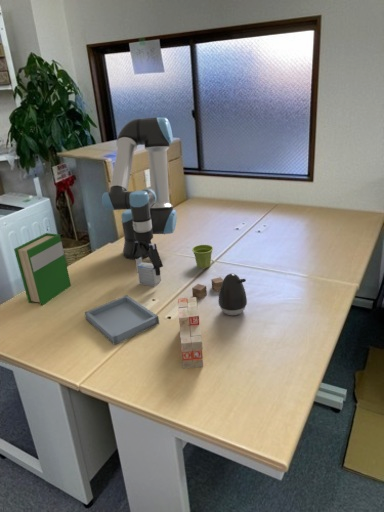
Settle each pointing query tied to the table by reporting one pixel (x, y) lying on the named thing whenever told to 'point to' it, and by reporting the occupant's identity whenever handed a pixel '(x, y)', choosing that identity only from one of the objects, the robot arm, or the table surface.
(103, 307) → the tray
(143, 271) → the medicine box
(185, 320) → the stack of blocks
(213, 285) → the walnut block
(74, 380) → the table surface
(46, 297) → the hardback book
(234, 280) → the pump dispenser
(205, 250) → the plant pot
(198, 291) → the walnut block
